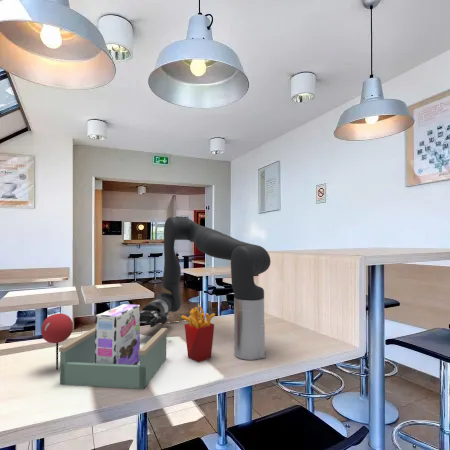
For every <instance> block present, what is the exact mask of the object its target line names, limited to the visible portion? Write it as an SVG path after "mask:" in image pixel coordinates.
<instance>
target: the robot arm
mask: <svg viewBox="0 0 450 450" xmlns="http://www.w3.org/2000/svg"><path fill="white" fill-rule="evenodd" d="M176 241H190V242H193V243H194V245H195V247H196V249H197V250H198V251H200V252H201V253H202V254H204V255H207V256H209V257H212V258H215V259H221V260H226V261H230V277H231V278H230V279H231V288H232V291H233V293H234V294H233V296H234V297H233V298H234V299H233V306H234V308H233V311H234V312H233V313H234V314H233V315H234V316H233V318H234V319H233V323H234V324H233V330H234V332H233V335H234V337H233V339H234V344H233V346H234V347H233V349H234V356H235V357H237V358H238V359H241V360H246V361H247V360H249V361H251V360H252V361H253V360H258V359H259V360H260V359H265V357H266V355H265V354H266V349H265V348H266V346H265V345H266V343H265V342H266V341H265V340H266V338H265V337H266V336H265V334H266V332H265V331H266V330H265V329H266V328H265V327H266V326H265V290H264V288H263V287H261V286H259V285H256V283H255V279H254V278H255V276H256V275H261V274H263V273H266V271H267V270H269V268H270V266H271V257H270V254H269V252H268V251H267V250H266V249H265V248H264V247H263V246H261V245H258V244H254V243H249V242H245V241H241V240H239V239H237V238H234V237H233V236H230V235H228V234H226V233H223V232H220V231H218V230H216V229H213V228H210V227H207V226H204V225H200V224H198V222H195V221H193V220H191V219H190V218H187V217H180V216H179V217H178V216H177V217H176V216H171V217H168V218H167V219H166V220H165V222H164V226H163V257H164V259H163V260H164V265H163V275H162V282H161V286H162V288H164V290H167V291H169V292H170V293H168V292H159V293H158V294H157V296H156V298H155V300H152V301H150V302H149V303H147V304H146V305H144V307H143V308H142V309H141V311H140V324H142V323H143V324H146V325H149V326H150V328H154V327H156V326H159V325H160V324H161V325H166V323H167V322H168V321H169V313H170V312H172V313H176V312H178V311H179V310H180V308H181V305H182V299H181V292H180V280H181V274H182V272H181V271H182V269H181V264H180V262H179V260H178V257H177V255H176V250H175V243H176Z"/></svg>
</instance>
